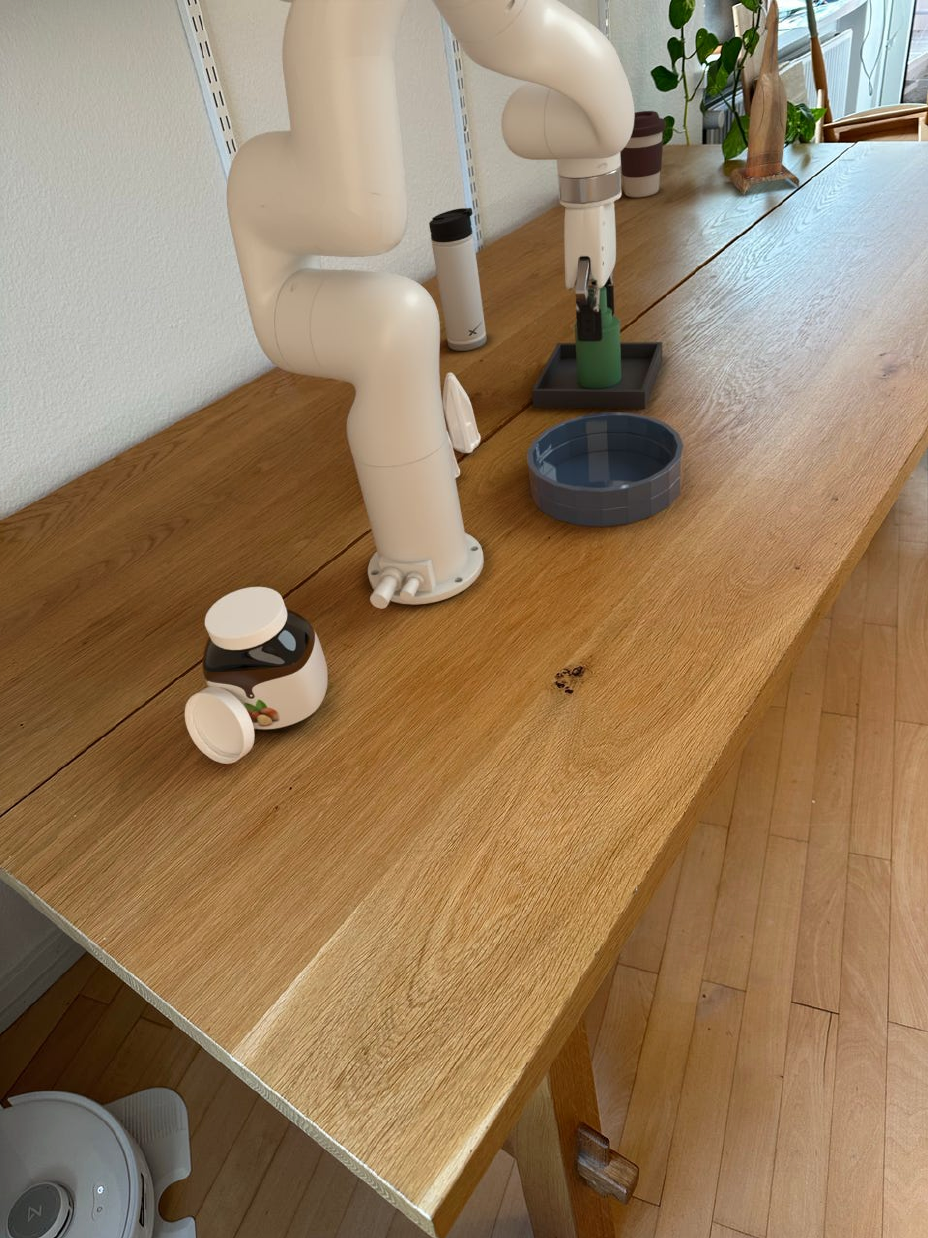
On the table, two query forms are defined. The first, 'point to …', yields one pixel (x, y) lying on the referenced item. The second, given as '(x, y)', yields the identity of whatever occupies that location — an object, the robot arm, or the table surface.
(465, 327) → the travel mug
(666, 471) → the bowl
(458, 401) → the white fin shape
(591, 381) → the bottle
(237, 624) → the spread jar
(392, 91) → the robot arm
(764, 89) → the bird sculpture
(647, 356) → the tray
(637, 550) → the table surface
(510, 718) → the table surface
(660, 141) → the coffee cup
